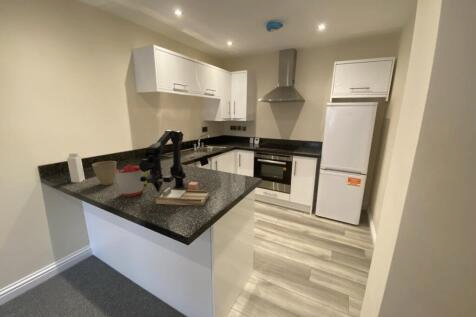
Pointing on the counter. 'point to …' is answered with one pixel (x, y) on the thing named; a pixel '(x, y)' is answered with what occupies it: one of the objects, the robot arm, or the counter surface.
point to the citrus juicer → (130, 181)
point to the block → (193, 186)
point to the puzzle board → (186, 198)
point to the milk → (75, 168)
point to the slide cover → (172, 193)
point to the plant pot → (105, 171)
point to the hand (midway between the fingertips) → (158, 191)
